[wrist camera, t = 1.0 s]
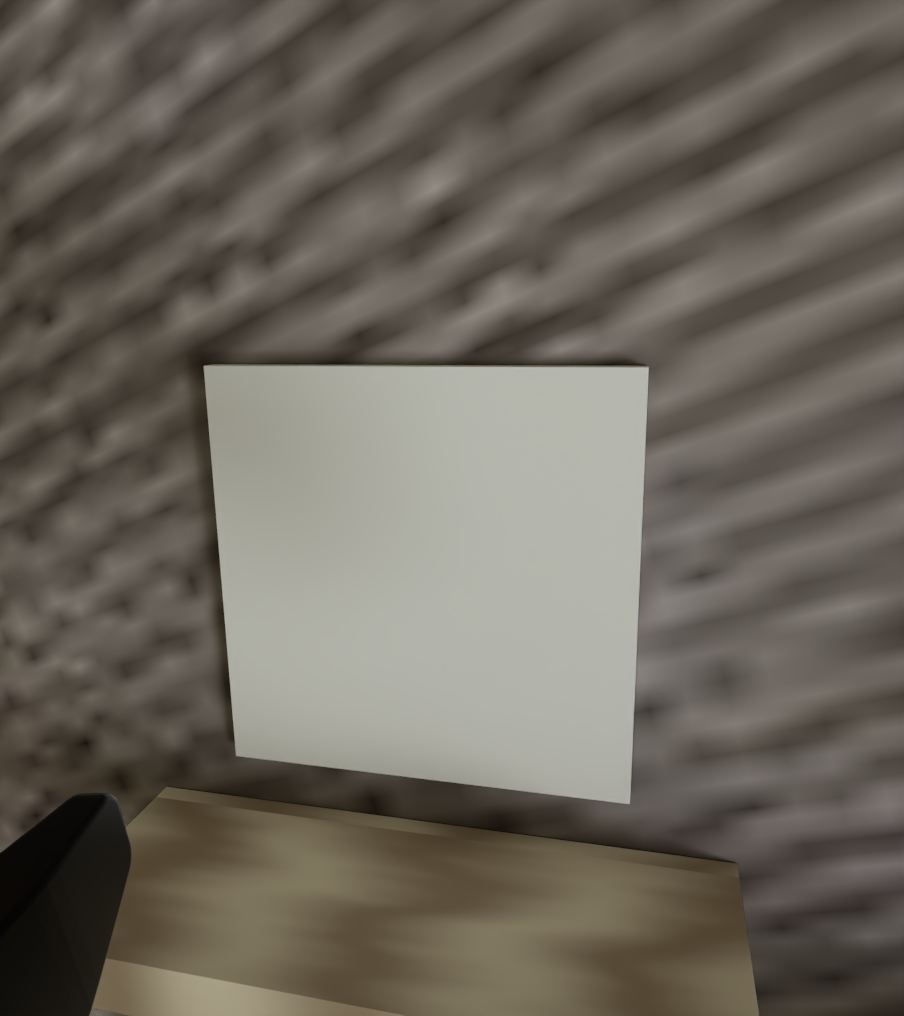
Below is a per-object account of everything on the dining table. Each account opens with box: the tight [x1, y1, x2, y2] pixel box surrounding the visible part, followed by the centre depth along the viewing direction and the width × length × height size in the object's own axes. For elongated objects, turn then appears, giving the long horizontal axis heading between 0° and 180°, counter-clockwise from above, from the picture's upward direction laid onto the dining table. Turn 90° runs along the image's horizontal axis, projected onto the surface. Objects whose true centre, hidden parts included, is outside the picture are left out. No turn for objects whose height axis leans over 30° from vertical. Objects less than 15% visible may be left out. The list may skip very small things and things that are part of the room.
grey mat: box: [204, 364, 649, 804], centre depth 23 cm, size 12×12×1 cm
